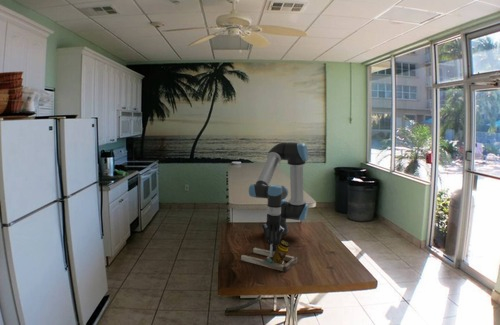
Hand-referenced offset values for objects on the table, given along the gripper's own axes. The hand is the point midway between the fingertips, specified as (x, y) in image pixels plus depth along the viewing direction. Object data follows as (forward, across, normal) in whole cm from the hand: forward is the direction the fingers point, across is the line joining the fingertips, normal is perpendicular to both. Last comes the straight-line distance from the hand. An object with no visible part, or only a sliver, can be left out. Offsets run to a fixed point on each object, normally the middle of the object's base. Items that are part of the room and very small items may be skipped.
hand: (271, 256), depth 174 cm
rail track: (+4, -2, +1) cm, 4 cm away
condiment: (+2, +2, 0) cm, 3 cm away
